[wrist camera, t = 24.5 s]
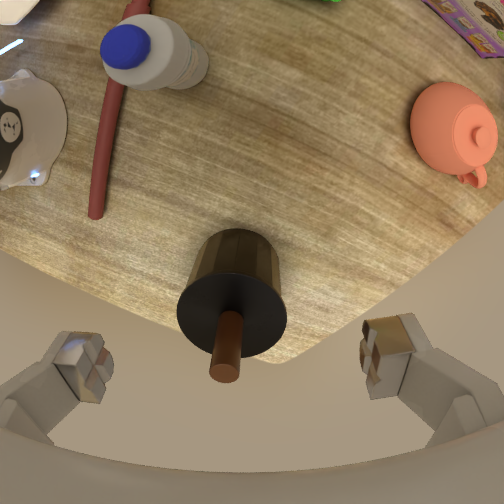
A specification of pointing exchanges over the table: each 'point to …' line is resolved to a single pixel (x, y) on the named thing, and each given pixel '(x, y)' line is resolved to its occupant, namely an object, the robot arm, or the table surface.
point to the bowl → (15, 10)
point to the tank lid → (231, 318)
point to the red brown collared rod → (108, 129)
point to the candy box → (475, 23)
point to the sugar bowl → (454, 131)
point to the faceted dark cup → (238, 256)
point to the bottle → (152, 54)
